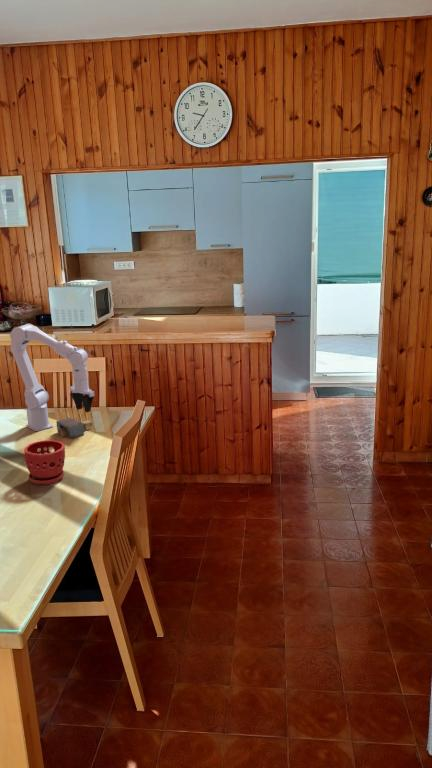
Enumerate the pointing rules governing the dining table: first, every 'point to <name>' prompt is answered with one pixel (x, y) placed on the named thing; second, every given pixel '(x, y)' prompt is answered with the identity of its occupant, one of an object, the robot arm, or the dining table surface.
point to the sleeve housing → (71, 427)
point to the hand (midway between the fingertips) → (83, 410)
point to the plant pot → (45, 461)
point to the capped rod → (86, 426)
